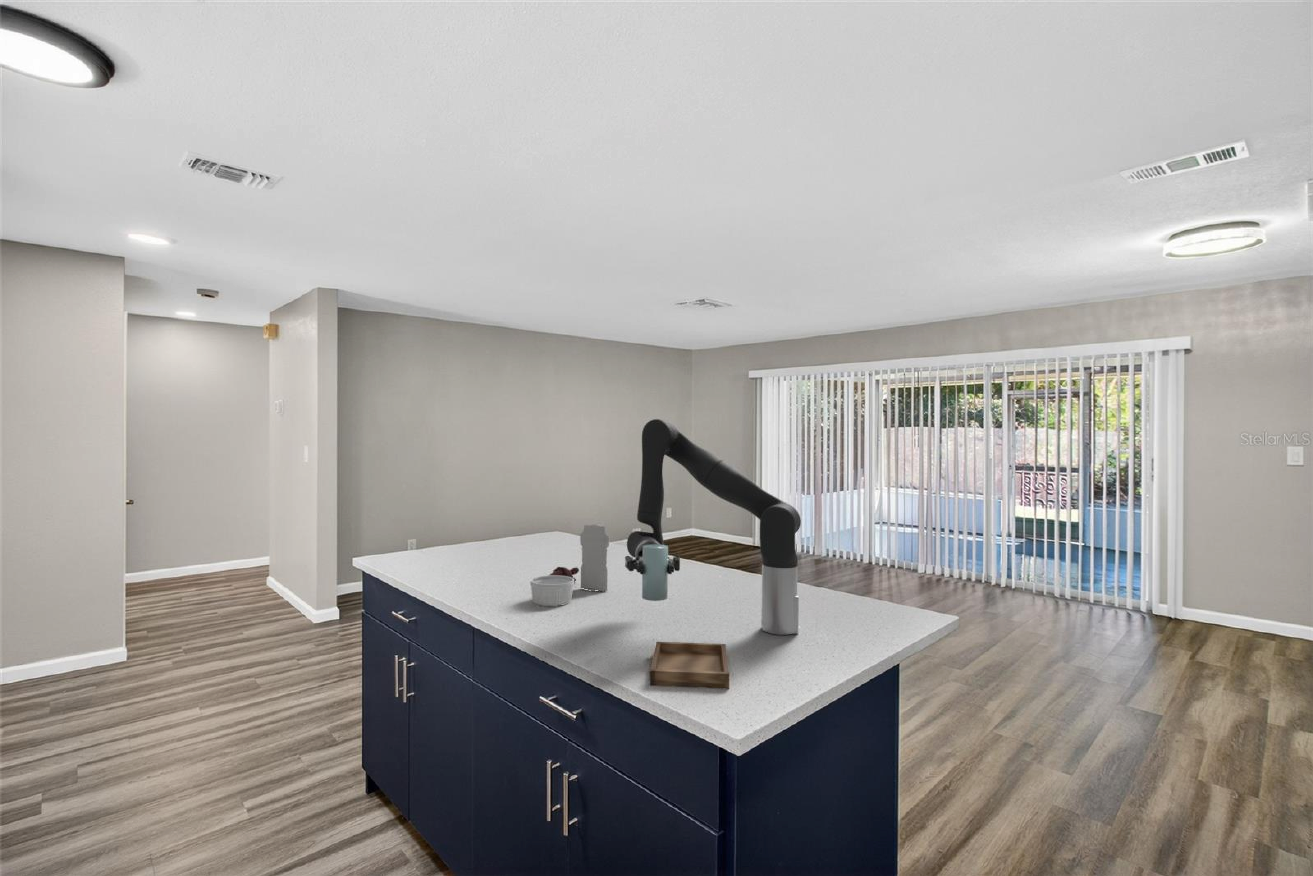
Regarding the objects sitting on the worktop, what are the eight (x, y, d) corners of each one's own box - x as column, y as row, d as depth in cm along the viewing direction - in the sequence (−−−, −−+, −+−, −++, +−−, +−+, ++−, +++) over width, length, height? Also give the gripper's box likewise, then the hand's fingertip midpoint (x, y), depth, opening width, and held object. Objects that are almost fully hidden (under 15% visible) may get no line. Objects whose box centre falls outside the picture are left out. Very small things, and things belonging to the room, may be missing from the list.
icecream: (553, 573, 197) (586, 570, 208) (539, 564, 201) (572, 561, 213) (548, 593, 197) (581, 589, 209) (534, 584, 202) (567, 580, 214)
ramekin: (558, 594, 195) (559, 572, 195) (582, 603, 185) (582, 580, 185) (522, 601, 186) (522, 578, 186) (545, 610, 176) (545, 586, 176)
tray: (725, 657, 140) (725, 644, 140) (729, 688, 122) (729, 674, 122) (656, 654, 141) (656, 641, 141) (649, 685, 123) (650, 670, 123)
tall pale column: (611, 590, 201) (612, 523, 201) (605, 593, 197) (606, 525, 197) (582, 587, 205) (583, 522, 205) (576, 590, 201) (577, 523, 201)
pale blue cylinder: (666, 594, 147) (666, 544, 147) (668, 600, 141) (669, 548, 141) (641, 594, 146) (641, 544, 146) (642, 601, 140) (643, 549, 140)
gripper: (622, 541, 157) (625, 554, 140) (677, 541, 158) (687, 553, 141) (622, 570, 157) (625, 586, 140) (677, 570, 158) (686, 585, 141)
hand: (656, 569), depth 141 cm, fingers closed on pale blue cylinder, 6 cm apart
